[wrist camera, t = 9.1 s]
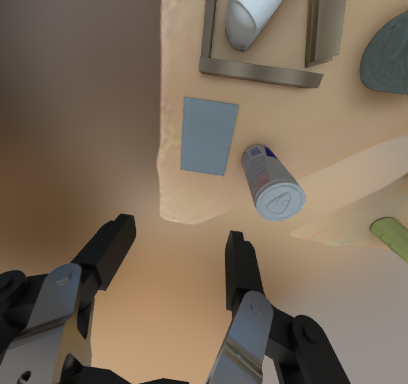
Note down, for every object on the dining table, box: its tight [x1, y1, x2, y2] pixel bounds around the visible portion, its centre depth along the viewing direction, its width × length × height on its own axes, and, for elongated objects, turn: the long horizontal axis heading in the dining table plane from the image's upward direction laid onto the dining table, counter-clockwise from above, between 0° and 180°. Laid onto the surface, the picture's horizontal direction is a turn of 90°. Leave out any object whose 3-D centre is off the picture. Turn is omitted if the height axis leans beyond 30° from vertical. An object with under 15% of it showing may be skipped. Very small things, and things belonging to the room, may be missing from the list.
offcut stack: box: [305, 0, 346, 67], centre depth 20 cm, size 3×11×3 cm, turn 14°
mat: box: [181, 97, 239, 176], centre depth 30 cm, size 9×13×1 cm
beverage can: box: [242, 145, 305, 221], centre depth 25 cm, size 6×6×15 cm
